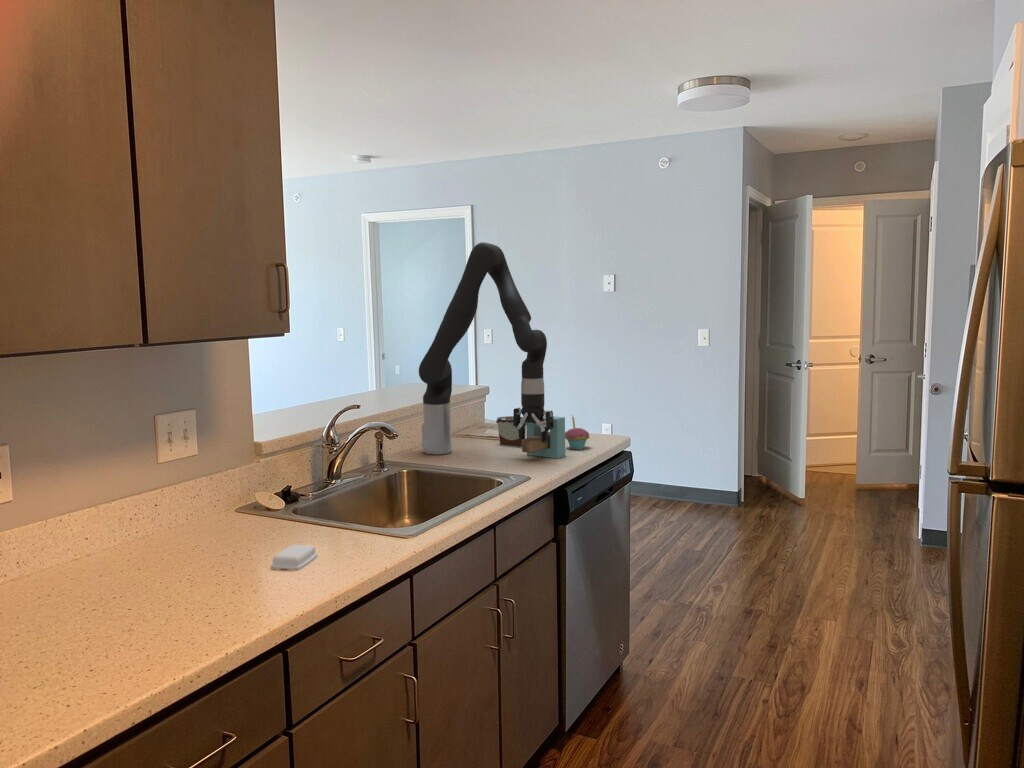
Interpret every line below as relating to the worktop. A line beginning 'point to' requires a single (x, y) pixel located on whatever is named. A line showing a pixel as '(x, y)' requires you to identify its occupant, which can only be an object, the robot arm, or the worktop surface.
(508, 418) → the food container
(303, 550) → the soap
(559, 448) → the light blue hollow block
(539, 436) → the brown rectangular block
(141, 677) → the worktop surface
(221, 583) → the worktop surface
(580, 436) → the cupcake
